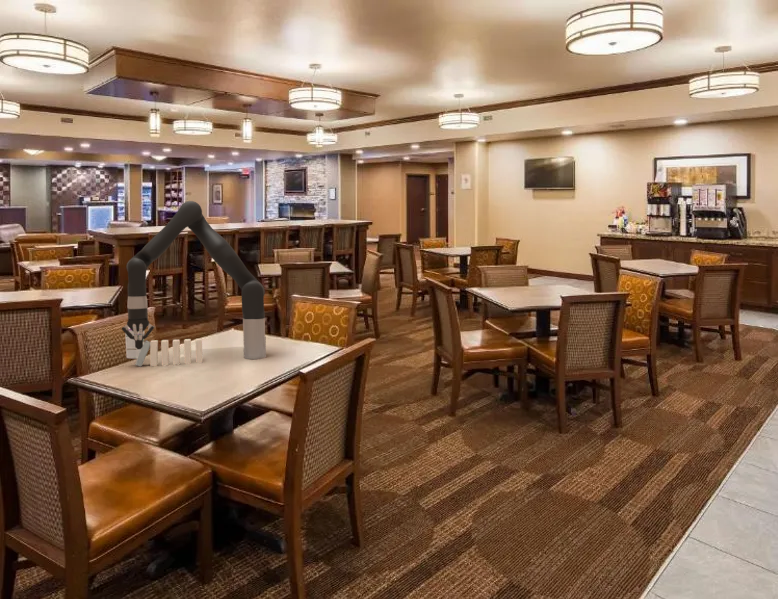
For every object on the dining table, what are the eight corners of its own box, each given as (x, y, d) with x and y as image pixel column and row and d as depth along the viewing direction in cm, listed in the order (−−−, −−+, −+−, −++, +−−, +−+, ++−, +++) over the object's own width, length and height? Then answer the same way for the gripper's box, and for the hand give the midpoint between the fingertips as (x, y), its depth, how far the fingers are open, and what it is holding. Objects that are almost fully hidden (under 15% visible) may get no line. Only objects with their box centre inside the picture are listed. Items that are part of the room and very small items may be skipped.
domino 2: (157, 363, 249) (157, 340, 249) (156, 366, 244) (156, 341, 244) (151, 363, 249) (151, 340, 248) (150, 366, 244) (150, 341, 243)
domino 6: (202, 361, 254) (201, 338, 253) (202, 363, 249) (201, 340, 249) (196, 361, 253) (195, 338, 253) (196, 364, 249) (195, 340, 248)
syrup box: (138, 360, 257) (136, 327, 255) (125, 360, 258) (124, 327, 257) (146, 358, 262) (144, 326, 261) (134, 358, 263) (132, 325, 262)
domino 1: (134, 364, 242) (144, 342, 243) (136, 362, 247) (146, 340, 247) (140, 366, 243) (150, 344, 243) (142, 364, 248) (151, 342, 248)
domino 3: (169, 363, 250) (168, 339, 250) (168, 365, 246) (167, 341, 245) (162, 363, 250) (162, 340, 249) (161, 365, 245) (161, 341, 244)
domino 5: (191, 362, 253) (190, 338, 252) (190, 364, 248) (190, 340, 247) (185, 362, 252) (184, 339, 251) (184, 364, 247) (184, 340, 247)
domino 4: (180, 362, 252) (179, 339, 251) (179, 364, 247) (178, 341, 246) (174, 363, 251) (173, 339, 250) (173, 365, 246) (172, 341, 245)
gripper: (155, 306, 249) (157, 346, 250) (121, 306, 245) (123, 348, 246) (153, 307, 241) (155, 349, 243) (118, 308, 238) (120, 351, 239)
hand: (139, 348), depth 244 cm, fingers closed
